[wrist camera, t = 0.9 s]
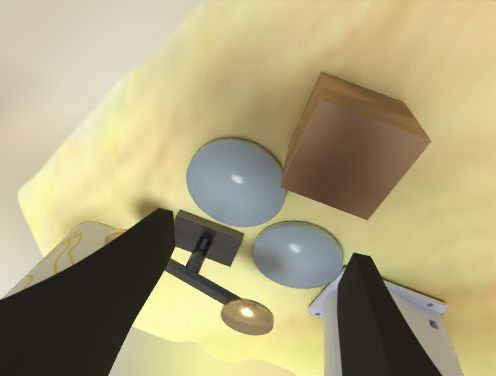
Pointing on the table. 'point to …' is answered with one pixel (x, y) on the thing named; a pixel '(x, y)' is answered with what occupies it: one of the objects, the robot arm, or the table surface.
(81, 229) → the cup
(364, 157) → the block
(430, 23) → the table surface
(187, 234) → the balance
